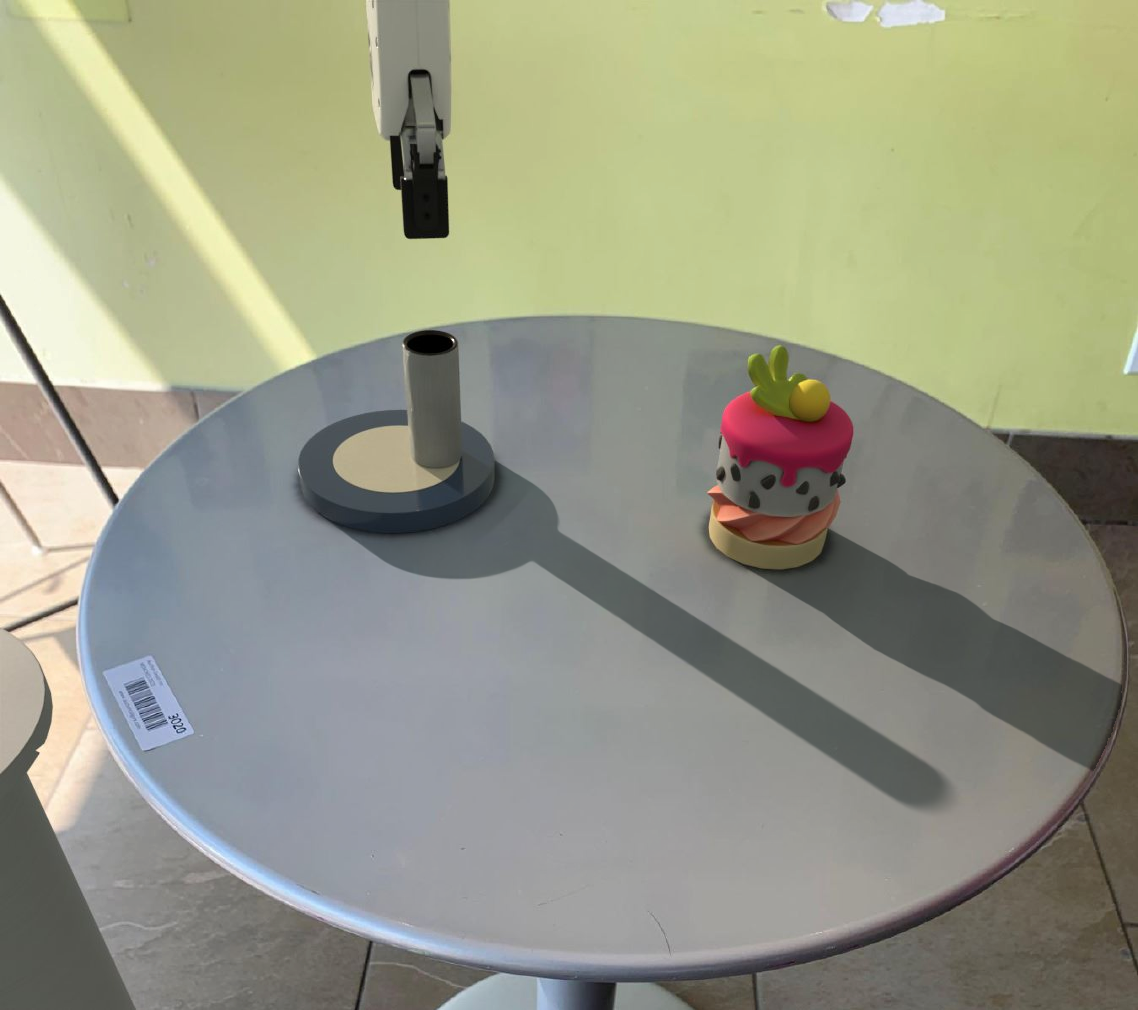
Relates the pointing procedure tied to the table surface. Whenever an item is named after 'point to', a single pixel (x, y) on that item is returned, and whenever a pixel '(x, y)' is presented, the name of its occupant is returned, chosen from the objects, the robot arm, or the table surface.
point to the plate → (390, 476)
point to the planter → (433, 397)
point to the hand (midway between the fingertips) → (420, 211)
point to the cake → (778, 468)
